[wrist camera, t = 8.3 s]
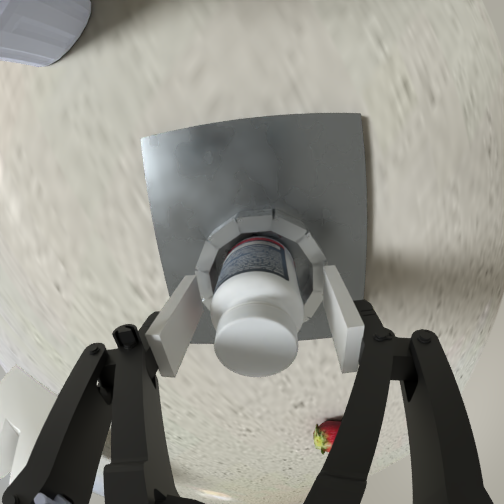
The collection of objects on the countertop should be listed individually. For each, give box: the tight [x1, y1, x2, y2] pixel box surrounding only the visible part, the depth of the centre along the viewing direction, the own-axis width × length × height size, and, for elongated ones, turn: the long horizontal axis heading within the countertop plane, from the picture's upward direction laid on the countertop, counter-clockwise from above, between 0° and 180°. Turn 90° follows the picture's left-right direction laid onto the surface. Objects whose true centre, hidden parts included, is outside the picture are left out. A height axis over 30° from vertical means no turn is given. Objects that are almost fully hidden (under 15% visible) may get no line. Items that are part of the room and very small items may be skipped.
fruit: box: [313, 421, 341, 455], centre depth 25 cm, size 4×6×5 cm
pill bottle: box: [210, 236, 304, 377], centre depth 16 cm, size 5×5×9 cm
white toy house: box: [0, 364, 58, 486], centre depth 24 cm, size 19×15×25 cm
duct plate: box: [141, 113, 367, 344], centre depth 19 cm, size 18×16×3 cm
